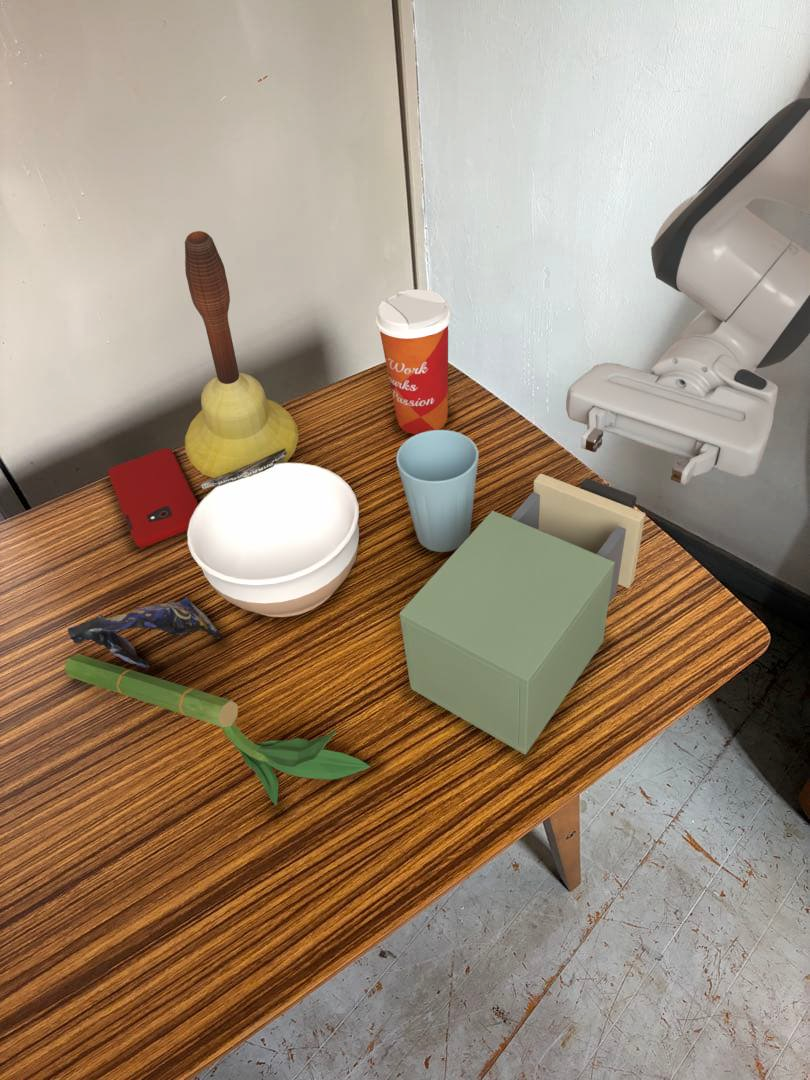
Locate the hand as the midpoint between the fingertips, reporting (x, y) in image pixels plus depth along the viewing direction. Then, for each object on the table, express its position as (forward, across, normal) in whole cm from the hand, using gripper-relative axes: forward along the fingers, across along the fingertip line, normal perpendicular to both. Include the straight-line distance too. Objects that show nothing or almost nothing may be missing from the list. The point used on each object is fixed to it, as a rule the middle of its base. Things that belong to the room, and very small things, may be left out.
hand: (631, 460), depth 77 cm
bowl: (+26, -24, +6) cm, 35 cm away
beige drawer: (+13, 0, +6) cm, 14 cm away
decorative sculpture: (+16, -31, 0) cm, 34 cm away
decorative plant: (+43, -18, +6) cm, 47 cm away
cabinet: (+23, 0, +6) cm, 24 cm away
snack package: (+44, -32, +3) cm, 54 cm away
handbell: (+16, -38, +1) cm, 41 cm away
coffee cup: (-2, -27, +7) cm, 28 cm away
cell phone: (+25, -45, +5) cm, 52 cm away
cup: (+13, -14, +7) cm, 20 cm away
